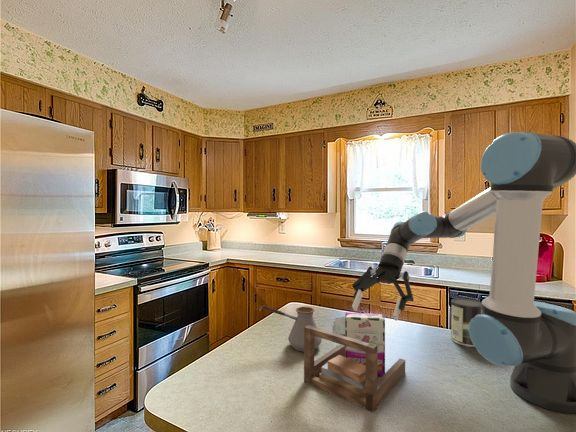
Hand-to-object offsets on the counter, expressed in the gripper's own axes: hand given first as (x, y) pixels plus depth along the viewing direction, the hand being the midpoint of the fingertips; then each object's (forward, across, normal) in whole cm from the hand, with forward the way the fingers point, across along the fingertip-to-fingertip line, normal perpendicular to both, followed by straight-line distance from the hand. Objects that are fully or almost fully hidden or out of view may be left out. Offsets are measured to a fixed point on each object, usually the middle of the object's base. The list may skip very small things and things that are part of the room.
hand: (373, 313), depth 98 cm
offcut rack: (+20, -1, 0) cm, 20 cm away
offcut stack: (+23, -1, +3) cm, 24 cm away
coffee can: (-14, -20, -35) cm, 43 cm away
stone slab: (-2, +20, -24) cm, 31 cm away
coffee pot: (+18, +25, -3) cm, 31 cm away
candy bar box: (+16, -1, -4) cm, 17 cm away
